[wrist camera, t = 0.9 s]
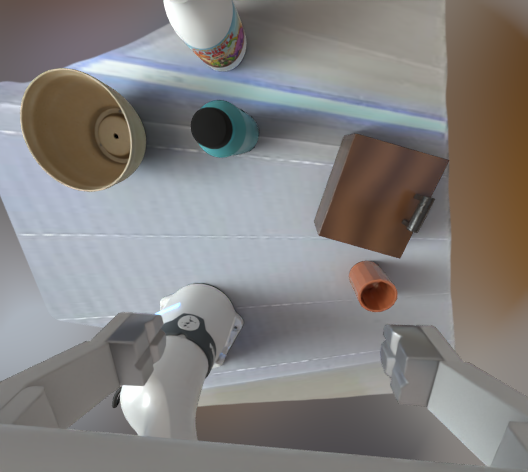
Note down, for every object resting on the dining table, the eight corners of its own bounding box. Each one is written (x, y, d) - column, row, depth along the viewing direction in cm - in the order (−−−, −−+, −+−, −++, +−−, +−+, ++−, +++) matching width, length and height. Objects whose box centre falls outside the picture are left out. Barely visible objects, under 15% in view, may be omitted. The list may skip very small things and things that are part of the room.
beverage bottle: (263, 115, 43) (243, 93, 25) (258, 157, 46) (237, 165, 27) (224, 111, 44) (176, 85, 25) (222, 152, 46) (176, 156, 27)
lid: (446, 159, 36) (467, 161, 32) (398, 256, 42) (410, 269, 37) (354, 133, 36) (363, 131, 32) (317, 233, 42) (321, 244, 37)
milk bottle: (189, 36, 41) (103, -59, 22) (229, 2, 39) (173, -134, 20) (216, 83, 42) (160, 33, 24) (256, 53, 40) (229, -28, 22)
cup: (374, 293, 52) (387, 316, 45) (344, 284, 52) (352, 306, 45) (387, 265, 50) (403, 285, 43) (356, 256, 50) (367, 275, 43)
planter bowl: (141, 199, 50) (103, 212, 40) (66, 146, 48) (6, 147, 38) (181, 126, 45) (150, 120, 35) (99, 64, 43) (41, 38, 33)
